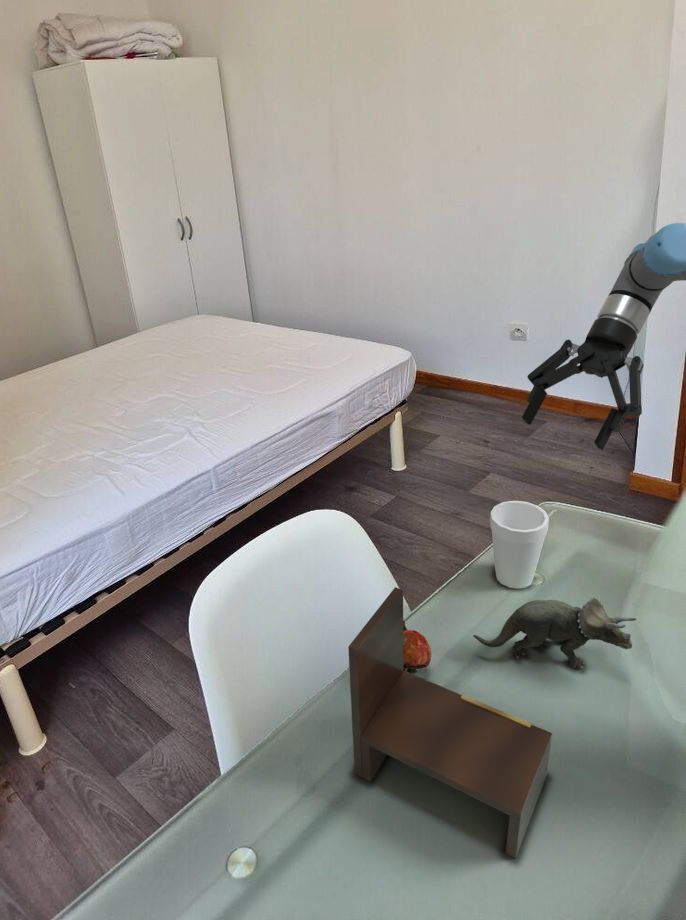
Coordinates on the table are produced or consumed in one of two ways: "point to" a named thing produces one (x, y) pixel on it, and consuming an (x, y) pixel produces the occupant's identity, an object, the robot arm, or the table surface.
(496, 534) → the foam cup
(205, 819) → the table surface
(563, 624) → the toy dinosaur
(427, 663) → the pomegranate
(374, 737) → the shelf
